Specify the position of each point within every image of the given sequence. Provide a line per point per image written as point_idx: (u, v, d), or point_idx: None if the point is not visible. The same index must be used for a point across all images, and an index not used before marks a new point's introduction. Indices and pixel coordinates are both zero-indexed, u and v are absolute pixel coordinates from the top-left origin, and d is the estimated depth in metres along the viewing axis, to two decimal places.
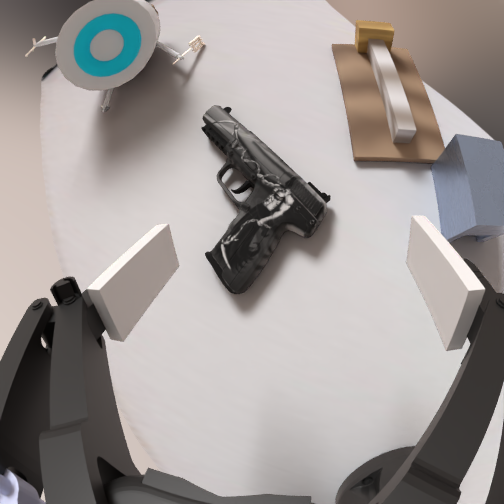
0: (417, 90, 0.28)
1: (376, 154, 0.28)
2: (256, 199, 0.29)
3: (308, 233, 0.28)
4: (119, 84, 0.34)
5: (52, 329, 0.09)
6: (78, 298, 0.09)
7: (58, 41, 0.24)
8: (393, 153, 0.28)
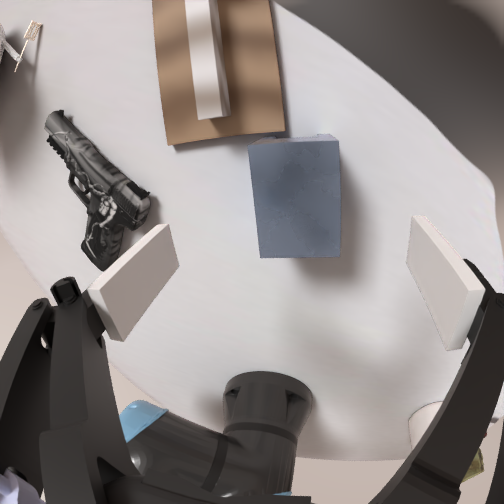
0: (257, 27, 0.20)
1: (189, 138, 0.26)
2: (94, 206, 0.30)
3: (135, 229, 0.31)
4: None
5: (52, 329, 0.09)
6: (78, 298, 0.09)
7: None
8: (209, 133, 0.26)
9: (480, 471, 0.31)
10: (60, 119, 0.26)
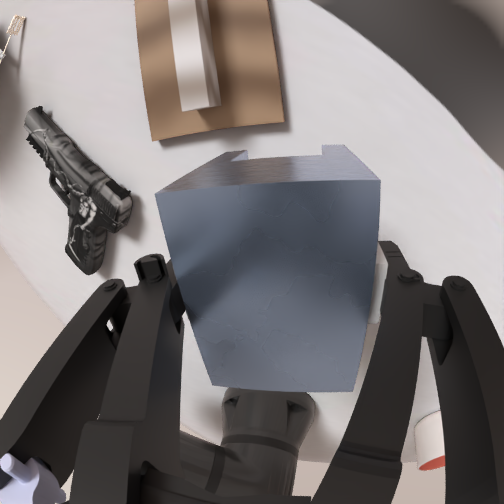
0: (250, 5, 0.16)
1: (176, 132, 0.23)
2: (74, 207, 0.27)
3: (116, 231, 0.28)
4: None
5: None
6: (164, 278, 0.10)
7: None
8: (197, 126, 0.22)
9: None
10: (39, 116, 0.23)
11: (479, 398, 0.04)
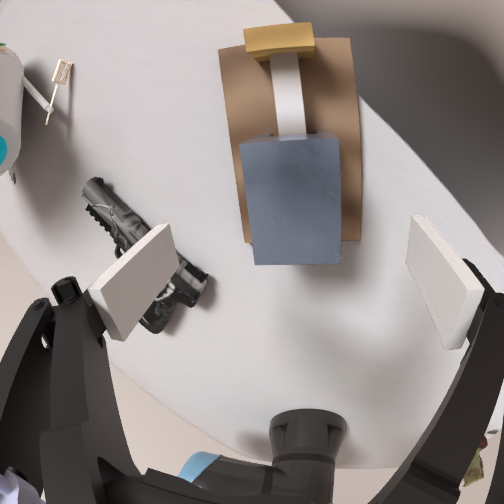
0: (344, 132, 0.23)
1: None
2: None
3: None
4: (10, 165, 0.26)
5: (53, 329, 0.09)
6: (79, 298, 0.09)
7: None
8: None
9: (480, 477, 0.34)
10: (100, 189, 0.29)
11: None
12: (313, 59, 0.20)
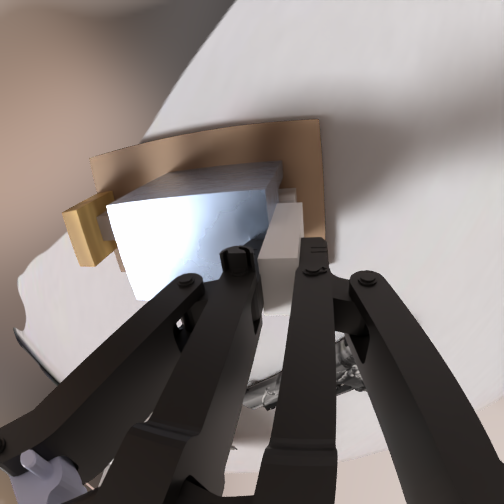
0: (175, 153, 0.20)
1: None
2: (356, 383, 0.26)
3: None
4: None
5: None
6: (250, 273, 0.10)
7: None
8: (317, 218, 0.21)
9: None
10: (249, 393, 0.31)
11: (408, 395, 0.05)
12: (113, 190, 0.23)
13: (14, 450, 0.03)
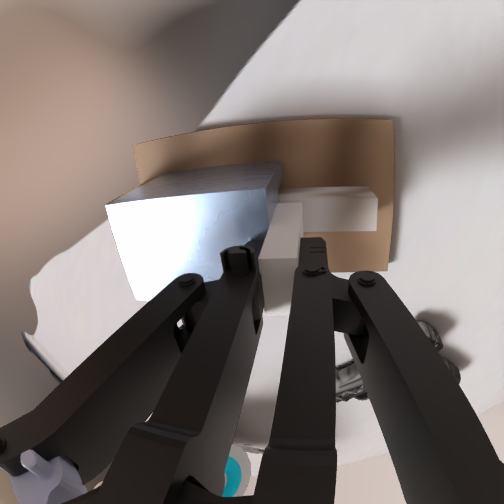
0: (242, 144, 0.19)
1: (386, 242, 0.20)
2: None
3: (442, 344, 0.23)
4: (245, 454, 0.35)
5: None
6: (250, 273, 0.10)
7: None
8: (386, 217, 0.20)
9: None
10: None
11: (408, 395, 0.05)
12: None
13: (14, 450, 0.03)
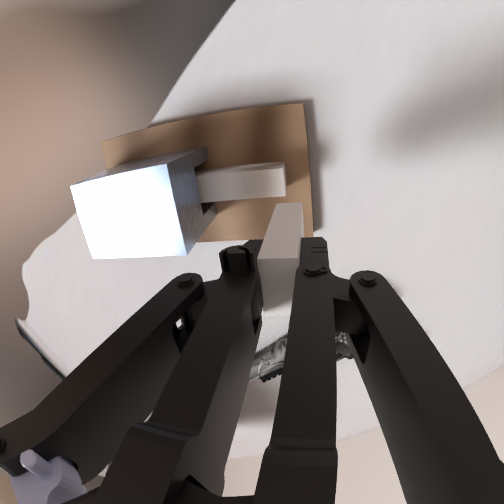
0: (180, 135, 0.23)
1: (308, 210, 0.25)
2: (346, 350, 0.30)
3: None
4: None
5: None
6: (249, 273, 0.10)
7: None
8: (304, 187, 0.24)
9: None
10: None
11: (409, 395, 0.05)
12: None
13: (14, 450, 0.03)
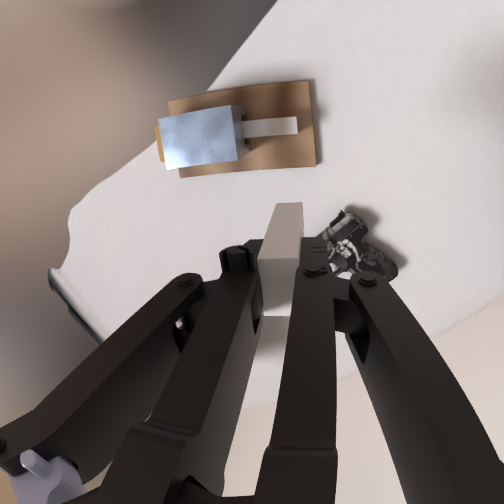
0: (228, 98, 0.34)
1: (312, 148, 0.36)
2: (342, 262, 0.41)
3: (367, 229, 0.38)
4: None
5: None
6: (249, 273, 0.10)
7: None
8: (309, 133, 0.35)
9: None
10: None
11: (409, 395, 0.05)
12: None
13: (14, 450, 0.03)
